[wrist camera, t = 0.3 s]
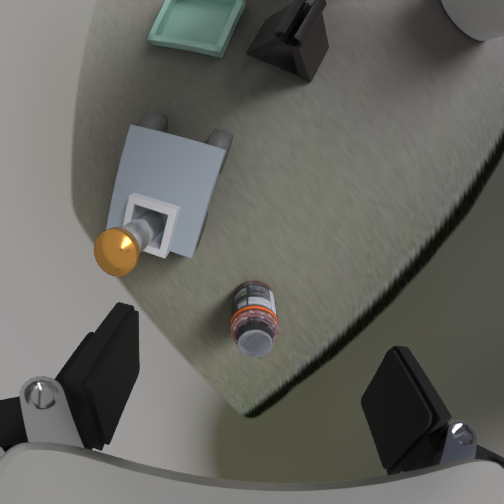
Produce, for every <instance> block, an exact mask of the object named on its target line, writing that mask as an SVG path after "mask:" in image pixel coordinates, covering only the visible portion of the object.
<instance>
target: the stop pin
mask: <svg viewBox="0 0 504 504" xmlns="http://www.w3.org/2000/svg"><path fill="white" fill-rule="evenodd" d="M163 228H164V220H163V218H162V216H161V215H160V214H159V213H158V212H156V211H153V210H148V211H146V212H144V213H142V214H141V215H139V216H138V217H136V218H135V219H133V220H132V221H130V222H129V223H127V224H126V225H124V226H123V227H113V228H110V229H108V230H106V231H105V232H103V233H102V234H100V235H99V236H98V238H97V239H96V241H95V245H94V255H95V258H96V261H97V263H98V264H99V266H100V267H101V268H102V270H104V271H105V272H106V273H108V274H110V275H112V276H117V277H120V276H125V275H127V274H129V273H130V272H131V271H132V270H133V269H134V268H135V266H136V265H137V264H138V262H139V259H140V253H141V252H142V251H143V250H144V249H145V248H146V247H147V246H148V245H149V244H150V243H151V242H152V241H153V240H154V239H155V238H156V237H157V236H158V235H159V234H160V233H161V232H162V230H163Z"/></svg>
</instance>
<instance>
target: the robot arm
mask: <svg viewBox="0 0 504 504" xmlns="http://www.w3.org/2000/svg"><path fill="white" fill-rule="evenodd" d="M139 365H140V363H139V313H138V311H135V310H134V306H132V305H128V304H124V303H120V302H118V303H117V304H116V305H115V306H114V308H113V309H112V310H111V311H110V313H109V314H108V315H107V317H106V318H105V320H104V321H103V322H102V323H101V325H100V326H99V327H98V329H97V330H96V331H95V333H94V332H89V334H87V335H86V337H85V338H84V339H83V341H82V342H81V343H80V345H79V346H78V347H77V349H76V350H75V351H74V353H73V354H72V356H71V357H70V358H69V360H68V361H67V363H66V364H65V365H64V367H63V368H62V370H61V371H60V372H59V374H58V375H57V377H56V378H55V379H52V378H49V377H44V376H42V377H35V378H31V379H30V380H28V381H26V382H25V383H24V385H23V386H22V388H21V390H20V396H19V397H14V398H9V399H5V400H0V504H504V458H503V457H501V456H499V455H497V454H495V453H493V452H491V451H489V450H487V449H485V448H483V447H481V446H479V445H477V435H476V432H475V431H474V429H473V428H472V427H471V426H470V425H469V424H467V423H466V422H463V421H454V422H452V423H451V424H450V425H448V423H447V422H448V421H449V420H450V419H451V417H452V416H451V415H450V413H449V411H448V410H447V408H446V406H445V405H444V403H443V401H442V400H441V398H440V397H439V395H438V393H437V391H436V390H435V388H434V387H433V385H432V383H431V382H430V380H429V379H428V377H427V376H426V374H425V373H424V371H423V370H422V368H421V367H420V365H419V363H418V362H417V360H416V359H415V357H414V356H413V355H412V353H411V351H410V350H409V348H407V347H403V346H394V347H392V348H391V349H390V350H388V351H387V354H386V355H385V357H384V359H383V361H382V363H381V365H380V366H379V368H378V370H377V372H376V374H375V375H374V377H373V379H372V381H371V382H370V384H369V386H368V388H367V389H366V391H365V393H364V394H363V396H362V399H361V405H362V408H363V411H364V413H365V417H366V419H367V422H368V425H369V427H370V431H371V433H372V436H373V439H374V442H375V445H376V448H377V451H378V454H379V457H380V459H381V462H382V465H383V467H384V468H385V469H386V470H387V473H388V475H387V476H380V477H374V478H366V479H359V480H349V481H338V482H325V483H323V482H322V483H263V482H246V481H235V480H226V479H218V478H210V477H204V476H197V475H191V474H186V473H180V472H175V471H171V470H166V469H161V468H156V467H152V466H148V465H144V464H140V463H136V462H133V461H129V460H125V459H122V458H118V457H114V456H111V455H107V454H104V453H100V452H97V451H93V450H92V449H93V448H95V449H98V450H101V451H102V449H103V447H104V444H107V445H109V444H110V442H111V440H112V437H113V434H114V432H115V430H116V427H117V425H118V422H119V419H120V417H121V415H122V412H123V410H124V407H125V405H126V403H127V400H128V398H129V396H130V393H131V391H132V389H133V386H134V384H135V382H136V379H137V377H138V374H139V368H140V366H139ZM401 471H403V473H400V472H401Z"/></svg>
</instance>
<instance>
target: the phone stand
mask: <svg viewBox="0 0 504 504" xmlns="http://www.w3.org/2000/svg"><path fill="white" fill-rule="evenodd" d="M305 1H306V0H294V1H293V2H292V3H291V4H290V5H288V6H286V7H285V8H283V9H282V10H280V11H279V12H277V13H275V14H274V15H272V16H271V17H269V18H268V19H266V21H265V22H264V24H263V26H262V27H261V29H260V31H259V32H258V34H257V36H256V38H255V39H254V41H253V43H252V44H251V46H250V48H249V50H248V51H247V54H248V55H250V56H253V57H255V58H257V59H260V60H262V61H265V62H267V63H269V64H272V65H274V66H276V67H279V68H281V69H283V70H285V71H287V72H289V73H291V74H294V75H296V76H298V77H300V78H302V79H304V80H306V81H308V82H311V81H312V79H313V77H314V75H315V73H316V71H317V69H318V67H319V65H320V64H321V62H322V60H323V58H324V56H325V54H326V52H327V50H328V48H329V46H328V40H327V35H326V30H325V25H324V20H323V15H322V11H323V9H324V8H325V6H326V2H325V0H315V1H314V3H313V5H309V4H308V3H305Z"/></svg>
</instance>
